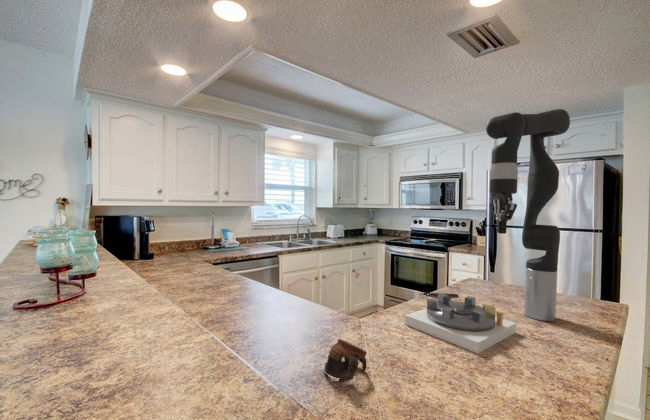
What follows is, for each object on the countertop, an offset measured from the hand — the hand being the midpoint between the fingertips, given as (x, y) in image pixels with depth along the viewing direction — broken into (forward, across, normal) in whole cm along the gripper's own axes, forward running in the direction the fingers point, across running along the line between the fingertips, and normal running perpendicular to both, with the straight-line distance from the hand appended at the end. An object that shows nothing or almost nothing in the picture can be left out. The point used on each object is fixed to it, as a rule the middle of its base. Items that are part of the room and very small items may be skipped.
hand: (501, 233), depth 97 cm
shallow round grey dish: (+28, 0, +12) cm, 30 cm away
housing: (+31, 0, +12) cm, 33 cm away
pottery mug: (+31, -31, +48) cm, 65 cm away
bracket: (+32, +29, +8) cm, 44 cm away
